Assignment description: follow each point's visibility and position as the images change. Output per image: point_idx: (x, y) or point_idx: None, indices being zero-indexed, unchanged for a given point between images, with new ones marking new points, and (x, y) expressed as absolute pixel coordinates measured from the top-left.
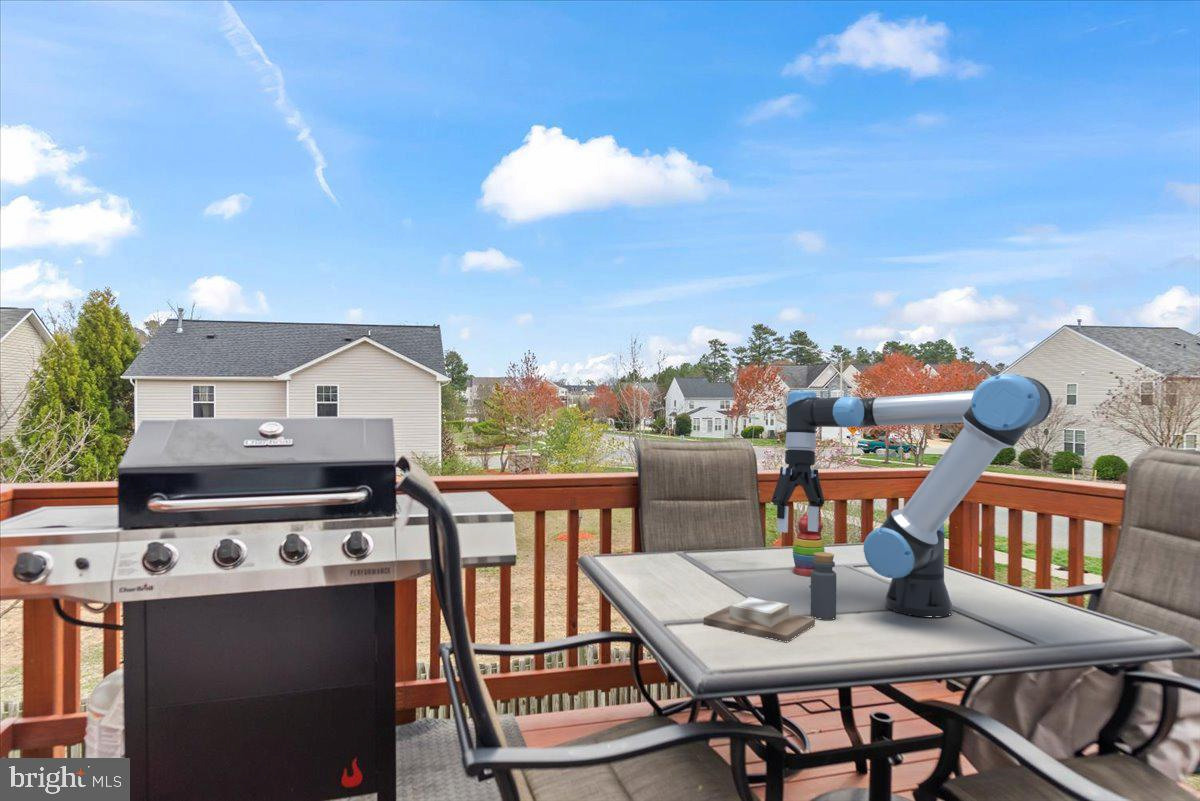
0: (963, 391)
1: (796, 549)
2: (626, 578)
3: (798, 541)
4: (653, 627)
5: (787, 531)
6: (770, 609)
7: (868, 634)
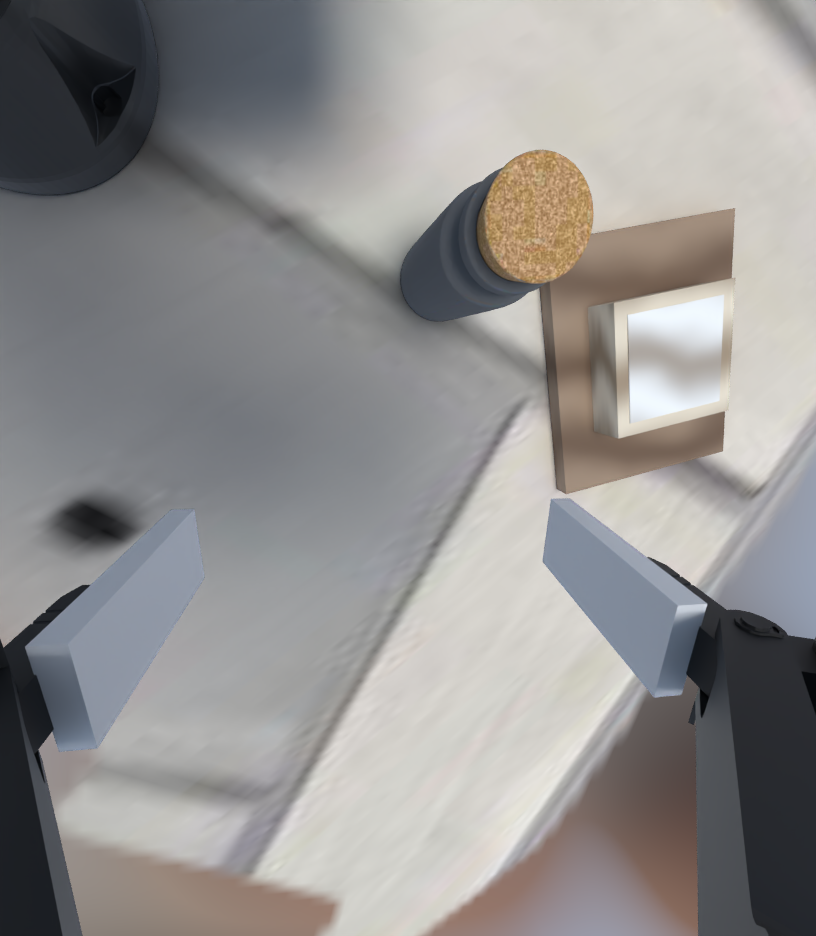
0: None
1: None
2: (516, 812)
3: None
4: (782, 493)
5: (558, 501)
6: (702, 303)
7: (501, 60)
